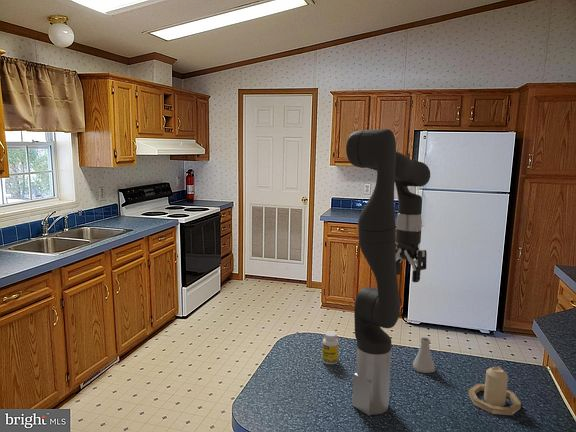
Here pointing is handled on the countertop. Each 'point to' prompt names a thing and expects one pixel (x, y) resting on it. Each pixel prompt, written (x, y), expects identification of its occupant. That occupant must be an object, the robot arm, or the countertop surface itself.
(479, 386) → the maple ring
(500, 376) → the candle
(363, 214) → the robot arm
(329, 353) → the supplement bottle
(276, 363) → the countertop surface
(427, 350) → the flask
